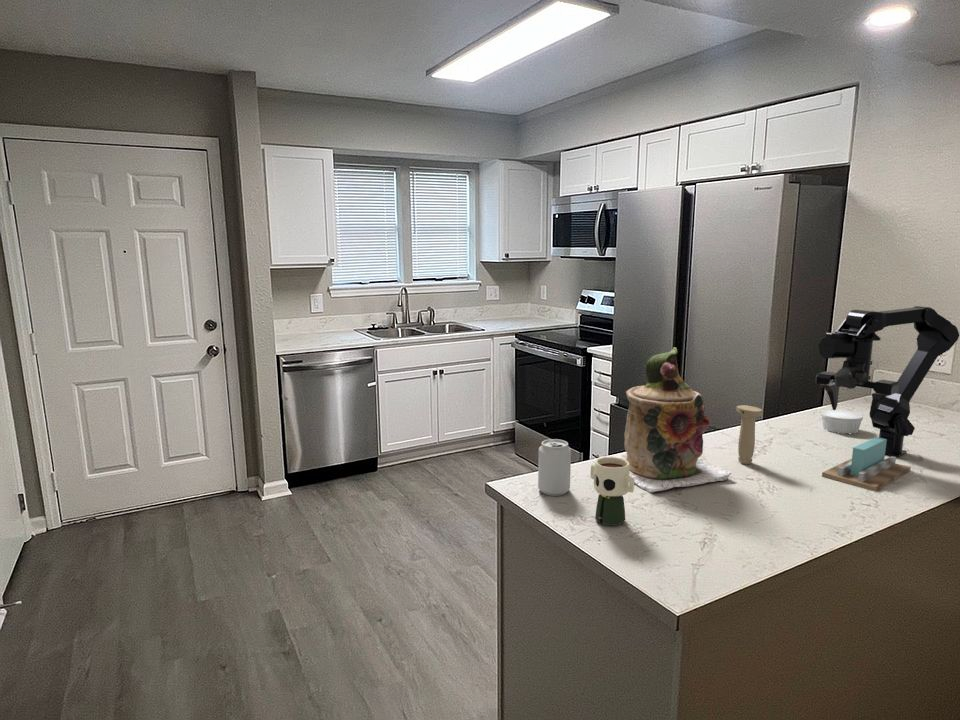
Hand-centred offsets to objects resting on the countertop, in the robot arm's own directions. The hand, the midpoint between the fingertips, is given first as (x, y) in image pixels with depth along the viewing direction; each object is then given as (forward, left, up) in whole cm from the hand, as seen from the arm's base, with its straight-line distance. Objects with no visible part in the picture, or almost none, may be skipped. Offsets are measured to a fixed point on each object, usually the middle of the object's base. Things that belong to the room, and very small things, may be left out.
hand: (852, 413), depth 166 cm
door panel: (+11, +9, -11) cm, 18 cm away
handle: (+28, -14, -12) cm, 34 cm away
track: (+11, +9, -12) cm, 19 cm away
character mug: (+84, -12, -12) cm, 86 cm away
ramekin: (-24, -12, -12) cm, 30 cm away
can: (+82, -31, -12) cm, 88 cm away
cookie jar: (+51, -24, -12) cm, 57 cm away
